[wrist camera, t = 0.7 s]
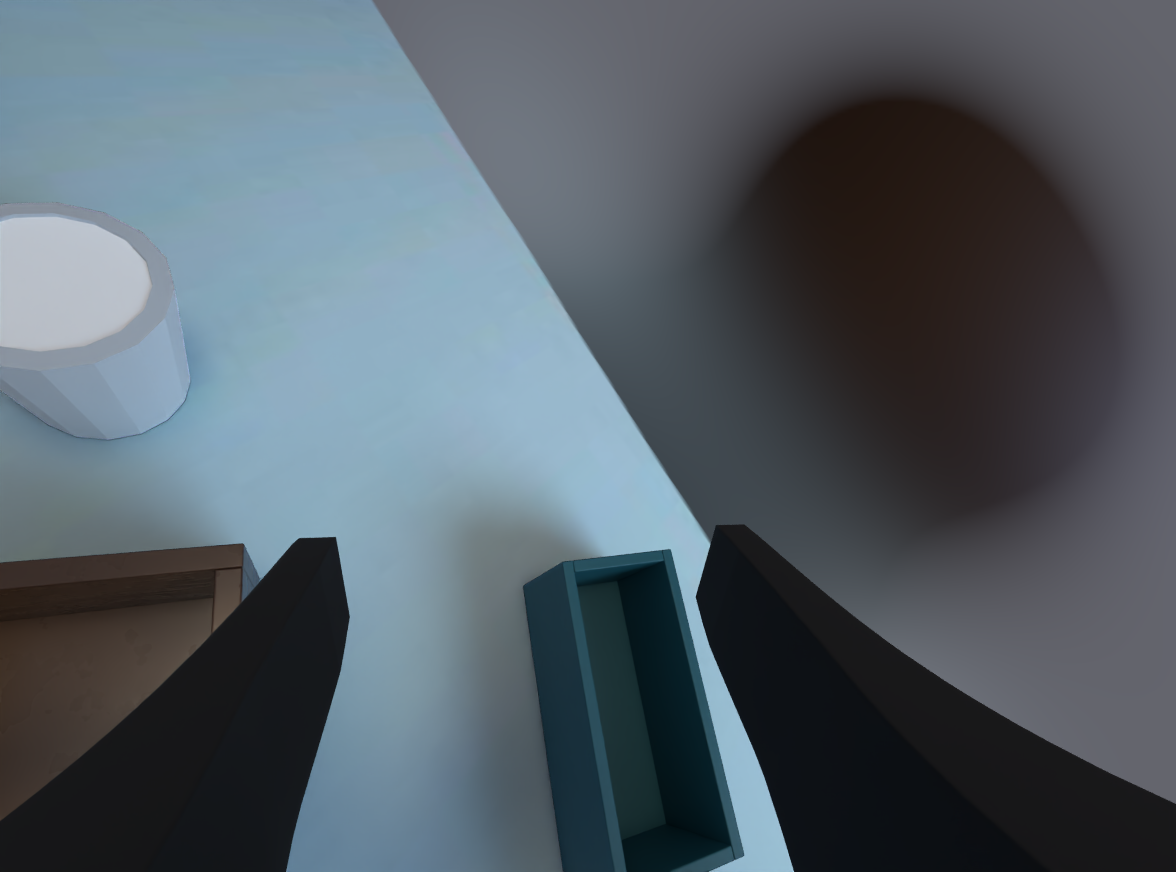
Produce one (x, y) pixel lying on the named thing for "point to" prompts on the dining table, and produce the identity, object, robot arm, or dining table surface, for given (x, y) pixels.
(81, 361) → the white cylinder
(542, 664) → the bin
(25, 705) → the crate
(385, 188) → the dining table surface
